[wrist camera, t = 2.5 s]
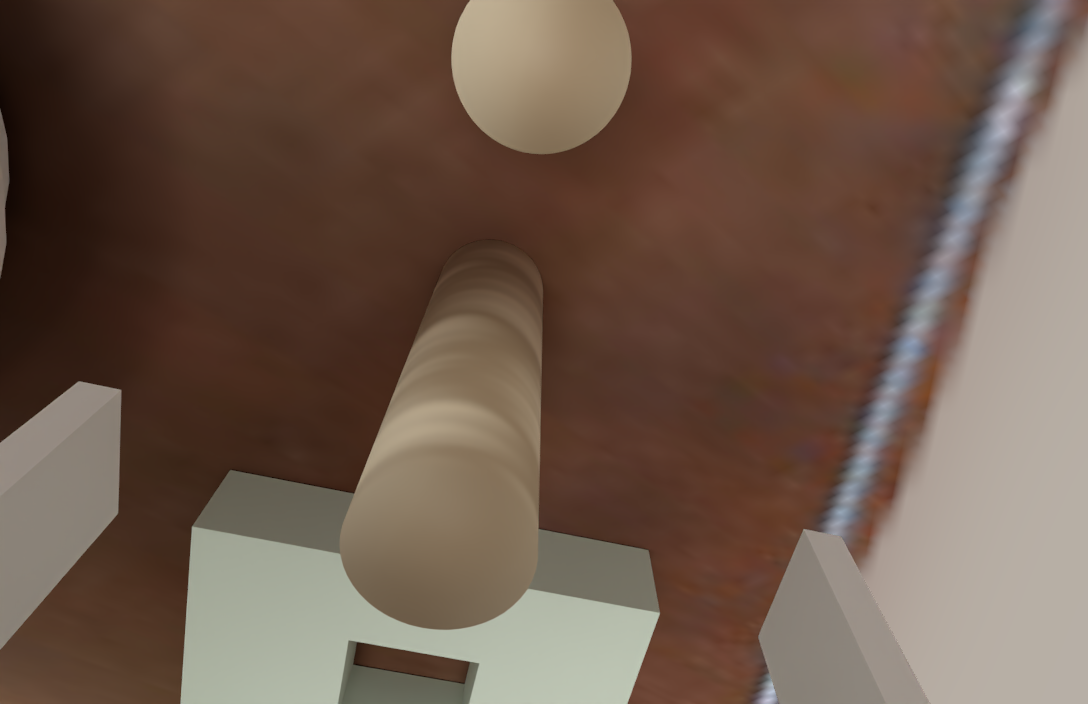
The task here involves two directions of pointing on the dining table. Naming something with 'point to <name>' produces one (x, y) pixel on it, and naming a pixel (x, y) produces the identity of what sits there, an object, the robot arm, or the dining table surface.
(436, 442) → the pin long
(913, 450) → the dining table surface
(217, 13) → the dining table surface
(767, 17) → the dining table surface
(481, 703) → the board
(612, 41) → the pin medium
